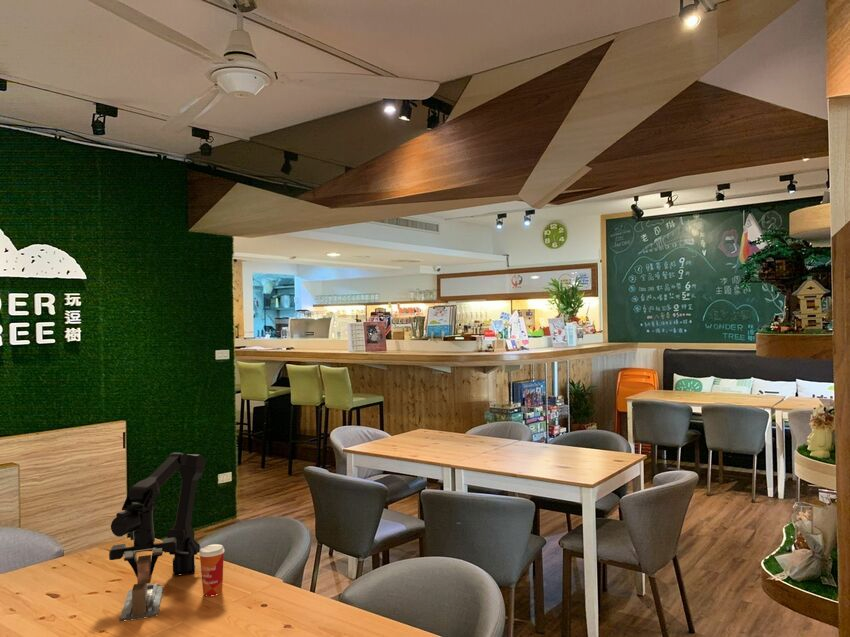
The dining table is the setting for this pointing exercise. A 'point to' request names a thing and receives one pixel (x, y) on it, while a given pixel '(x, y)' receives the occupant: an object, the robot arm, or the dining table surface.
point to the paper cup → (212, 568)
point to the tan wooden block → (144, 569)
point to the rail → (150, 600)
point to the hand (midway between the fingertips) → (144, 576)
